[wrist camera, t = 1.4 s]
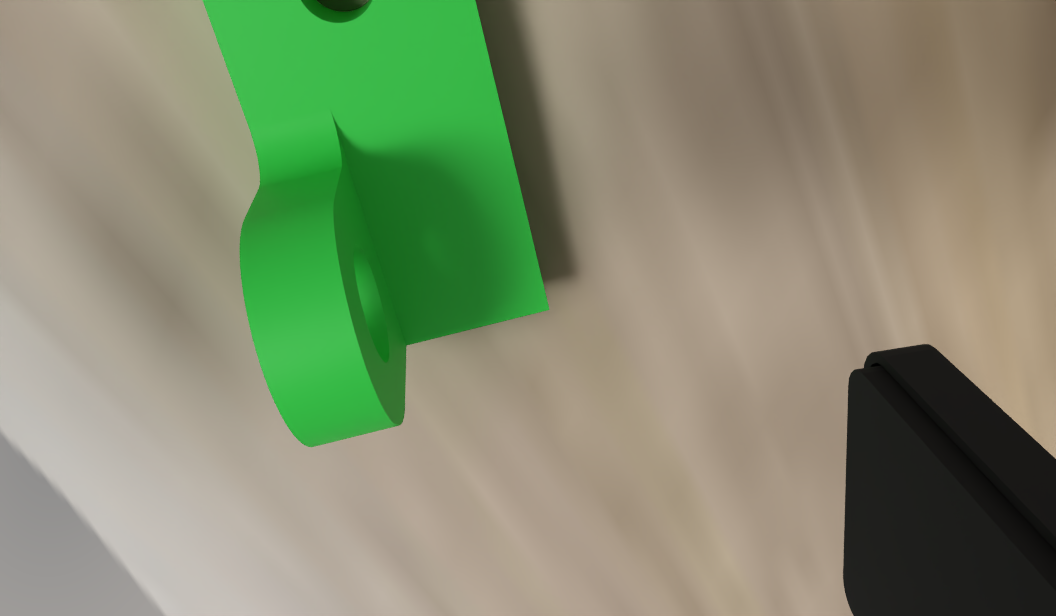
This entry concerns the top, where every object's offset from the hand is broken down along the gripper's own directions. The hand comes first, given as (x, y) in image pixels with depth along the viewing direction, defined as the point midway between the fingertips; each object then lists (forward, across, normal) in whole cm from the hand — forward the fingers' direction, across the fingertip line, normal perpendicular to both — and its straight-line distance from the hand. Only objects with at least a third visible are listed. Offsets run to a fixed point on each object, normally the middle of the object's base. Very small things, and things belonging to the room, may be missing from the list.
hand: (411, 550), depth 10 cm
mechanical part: (+18, +1, -1) cm, 18 cm away
